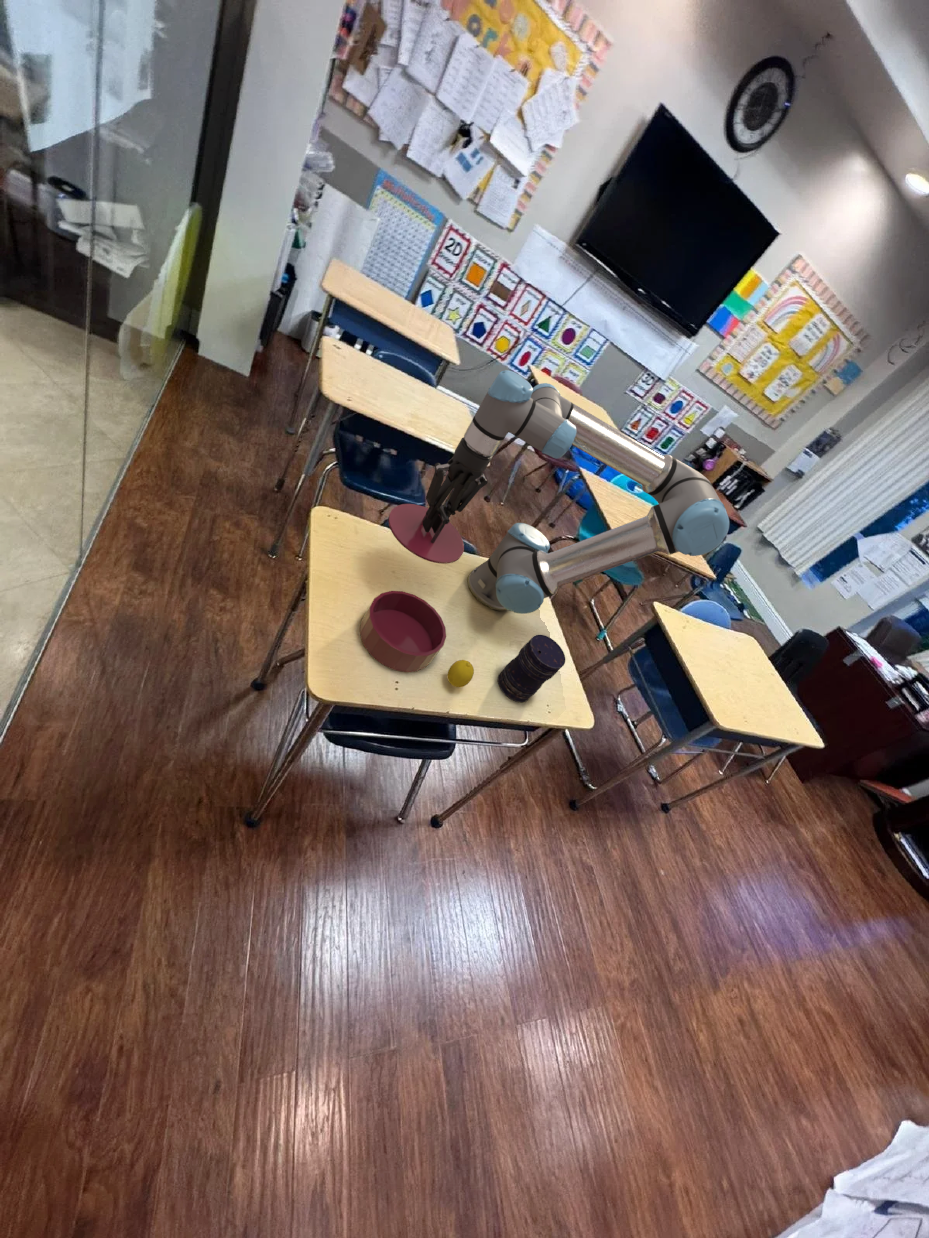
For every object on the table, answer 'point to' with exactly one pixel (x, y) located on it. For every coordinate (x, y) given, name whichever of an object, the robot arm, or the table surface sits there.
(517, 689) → the storage jar
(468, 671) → the lemon
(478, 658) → the table surface
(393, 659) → the pot
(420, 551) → the lid
